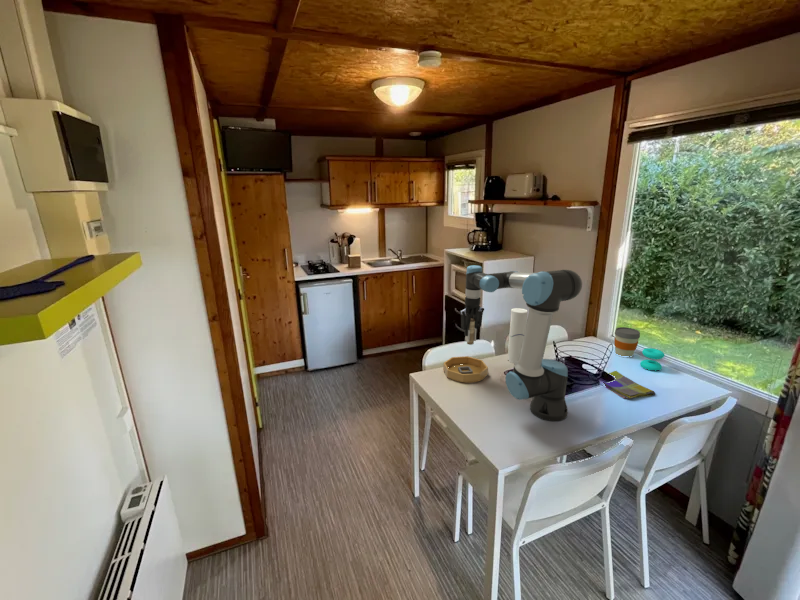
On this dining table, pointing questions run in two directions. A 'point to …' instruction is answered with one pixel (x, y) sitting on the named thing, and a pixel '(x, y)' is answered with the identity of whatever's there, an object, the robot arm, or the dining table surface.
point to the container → (516, 333)
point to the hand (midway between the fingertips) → (470, 340)
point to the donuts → (653, 355)
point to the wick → (471, 331)
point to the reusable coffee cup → (626, 341)
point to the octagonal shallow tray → (465, 369)
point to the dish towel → (627, 387)
